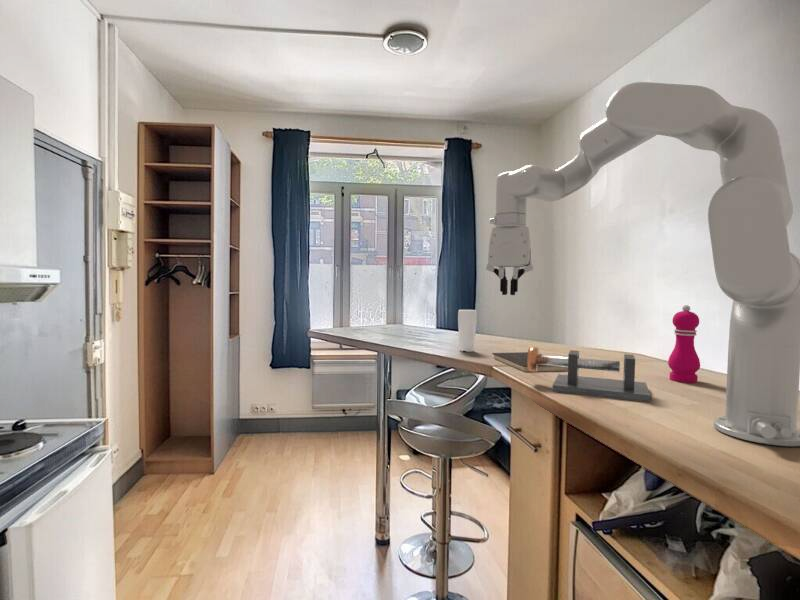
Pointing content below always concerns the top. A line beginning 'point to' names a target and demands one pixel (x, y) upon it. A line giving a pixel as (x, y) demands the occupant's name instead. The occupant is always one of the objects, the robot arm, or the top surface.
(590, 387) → the stand
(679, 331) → the pepper mill
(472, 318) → the drinking glass
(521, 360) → the hardcover book
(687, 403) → the top surface
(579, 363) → the shaft
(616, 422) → the top surface
